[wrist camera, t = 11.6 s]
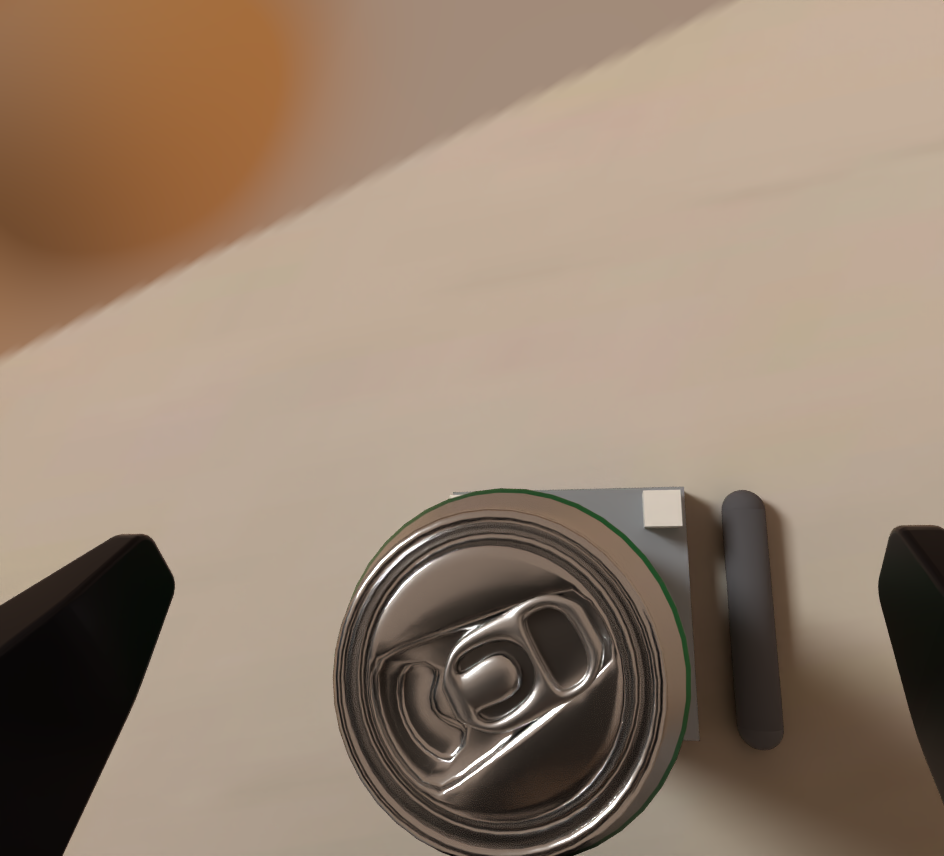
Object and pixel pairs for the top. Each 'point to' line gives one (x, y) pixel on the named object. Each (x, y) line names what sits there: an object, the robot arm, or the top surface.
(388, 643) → the soda can
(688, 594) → the switch plate
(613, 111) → the top surface
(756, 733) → the dark grey rod
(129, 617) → the robot arm
